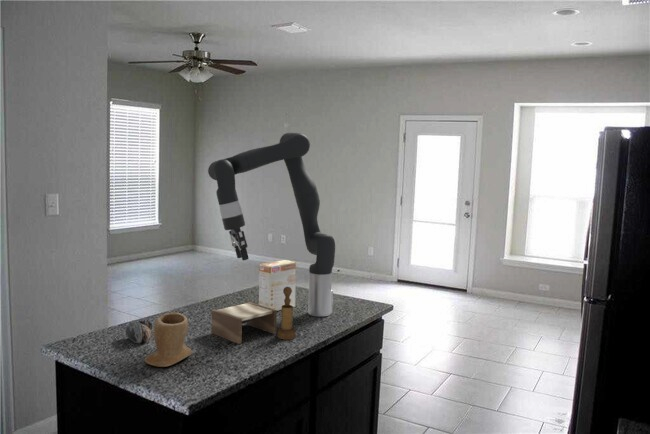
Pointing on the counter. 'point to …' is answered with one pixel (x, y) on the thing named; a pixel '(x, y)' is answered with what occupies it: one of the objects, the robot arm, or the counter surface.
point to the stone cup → (169, 340)
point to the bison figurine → (139, 331)
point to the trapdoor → (246, 311)
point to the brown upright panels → (232, 325)
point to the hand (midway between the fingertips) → (243, 258)
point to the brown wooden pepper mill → (287, 318)
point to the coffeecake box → (276, 283)
